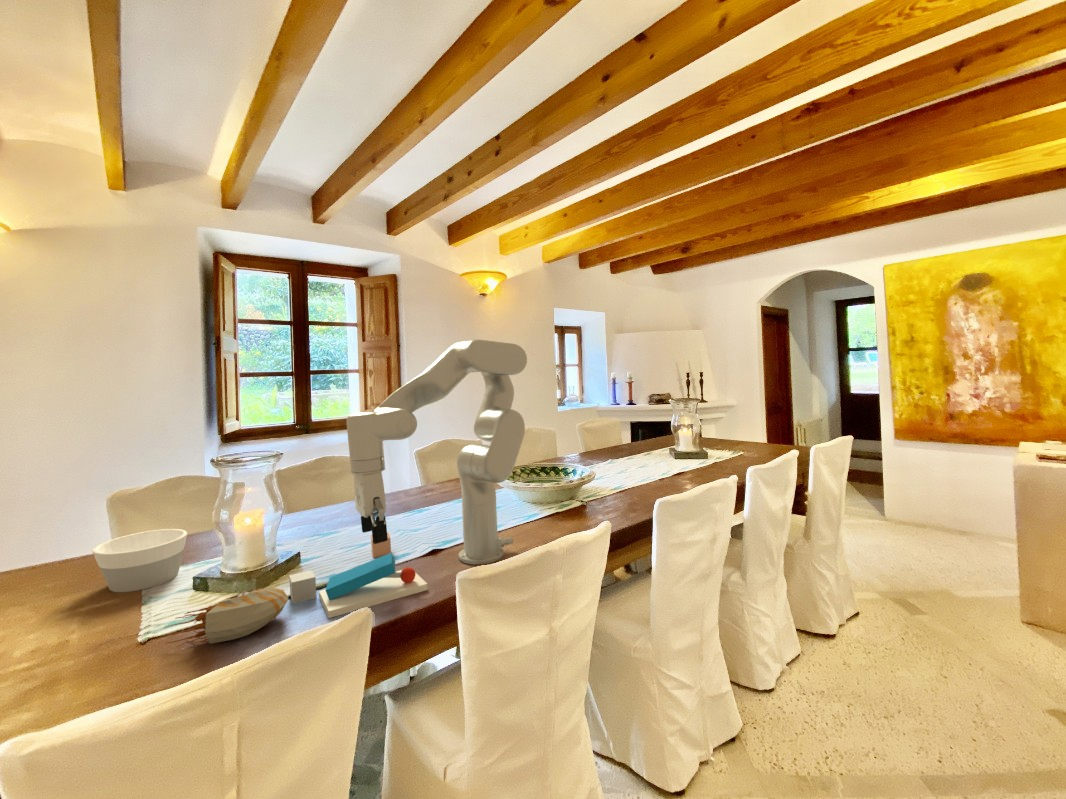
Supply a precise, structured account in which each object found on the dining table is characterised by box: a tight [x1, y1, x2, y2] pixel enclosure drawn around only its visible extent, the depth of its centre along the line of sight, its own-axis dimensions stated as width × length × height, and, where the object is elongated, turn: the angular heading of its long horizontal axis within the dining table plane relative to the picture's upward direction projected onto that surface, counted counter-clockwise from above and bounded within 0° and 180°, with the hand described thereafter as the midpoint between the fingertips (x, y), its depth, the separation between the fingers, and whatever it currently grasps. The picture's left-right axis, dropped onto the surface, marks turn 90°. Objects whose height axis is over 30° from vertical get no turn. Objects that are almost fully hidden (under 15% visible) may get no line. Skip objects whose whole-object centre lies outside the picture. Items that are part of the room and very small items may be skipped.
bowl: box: [91, 528, 188, 593], centre depth 125 cm, size 19×19×11 cm
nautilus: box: [163, 587, 289, 649], centre depth 97 cm, size 8×22×15 cm
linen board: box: [318, 569, 428, 619], centre depth 113 cm, size 22×12×2 cm, turn 123°
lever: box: [324, 552, 416, 600], centre depth 113 cm, size 7×7×19 cm
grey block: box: [288, 569, 317, 604], centre depth 112 cm, size 5×5×5 cm
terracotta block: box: [370, 532, 392, 558], centre depth 139 cm, size 5×5×5 cm
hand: (374, 536), depth 113 cm, fingers open, 9 cm apart
